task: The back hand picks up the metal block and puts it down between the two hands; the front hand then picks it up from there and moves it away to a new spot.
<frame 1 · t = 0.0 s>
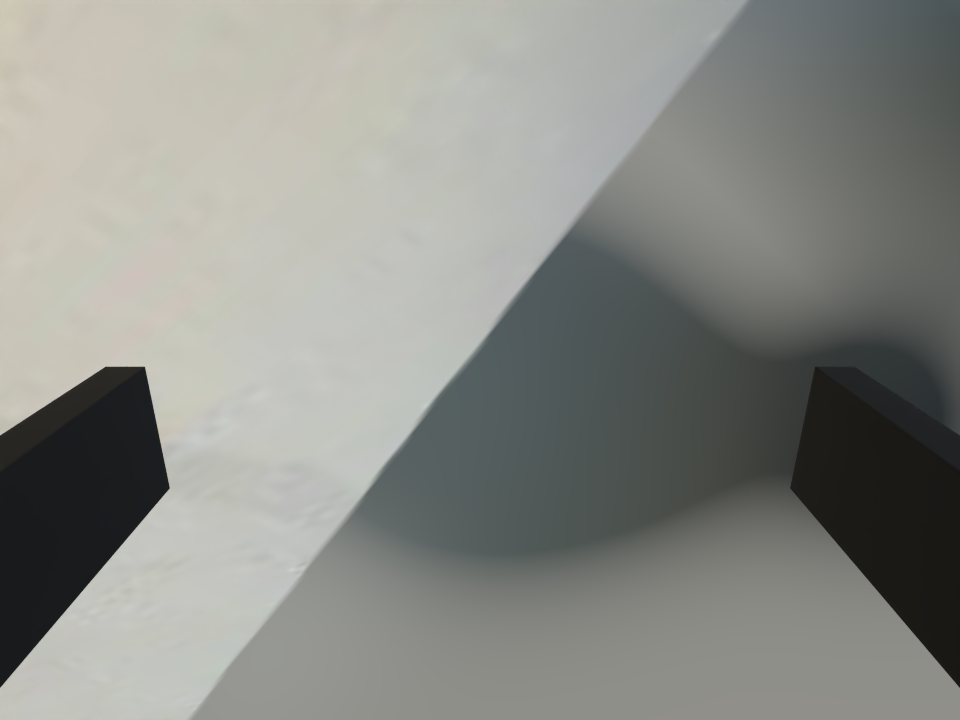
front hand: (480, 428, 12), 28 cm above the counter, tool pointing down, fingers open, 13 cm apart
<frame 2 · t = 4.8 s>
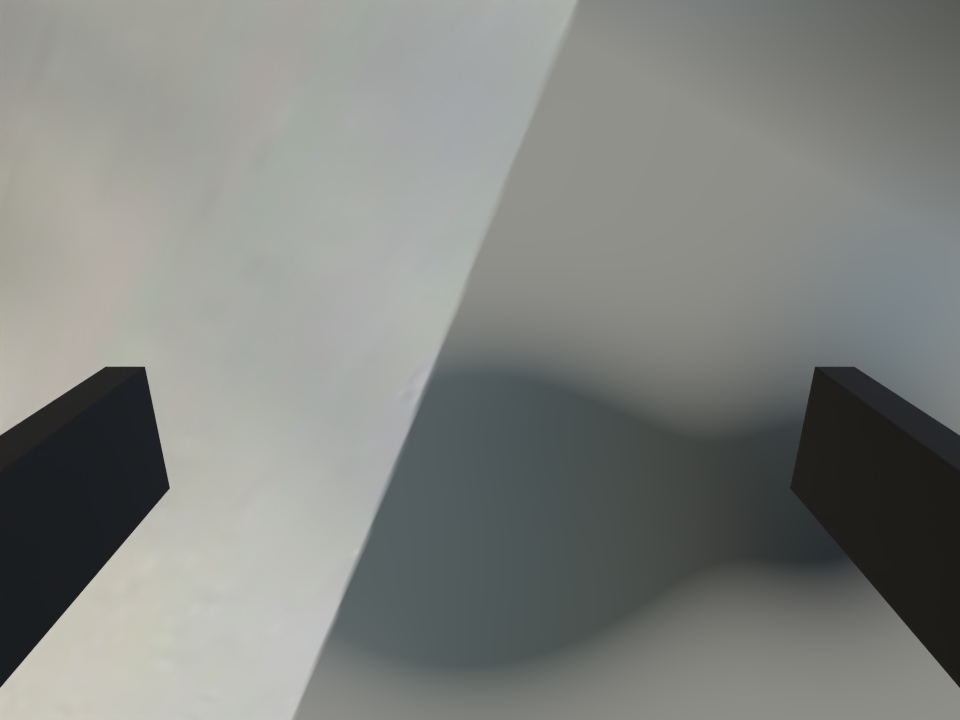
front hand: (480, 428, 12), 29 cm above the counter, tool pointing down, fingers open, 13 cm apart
when the back hand's fingers open (2 cm above the counter, at t = 15.0 s): metal block stays where it is, on the counter.
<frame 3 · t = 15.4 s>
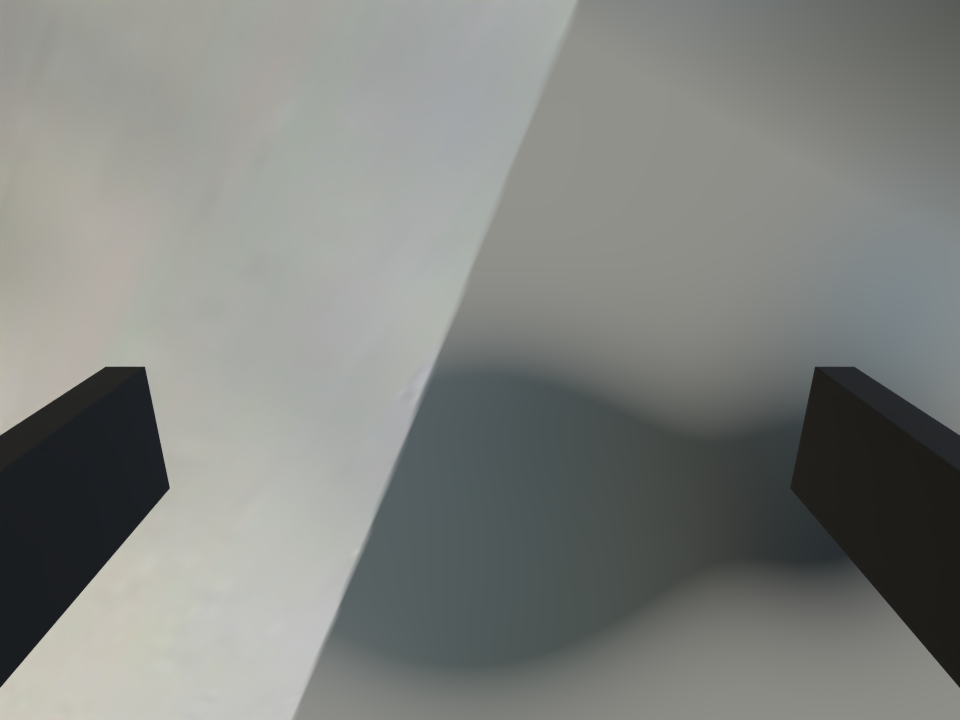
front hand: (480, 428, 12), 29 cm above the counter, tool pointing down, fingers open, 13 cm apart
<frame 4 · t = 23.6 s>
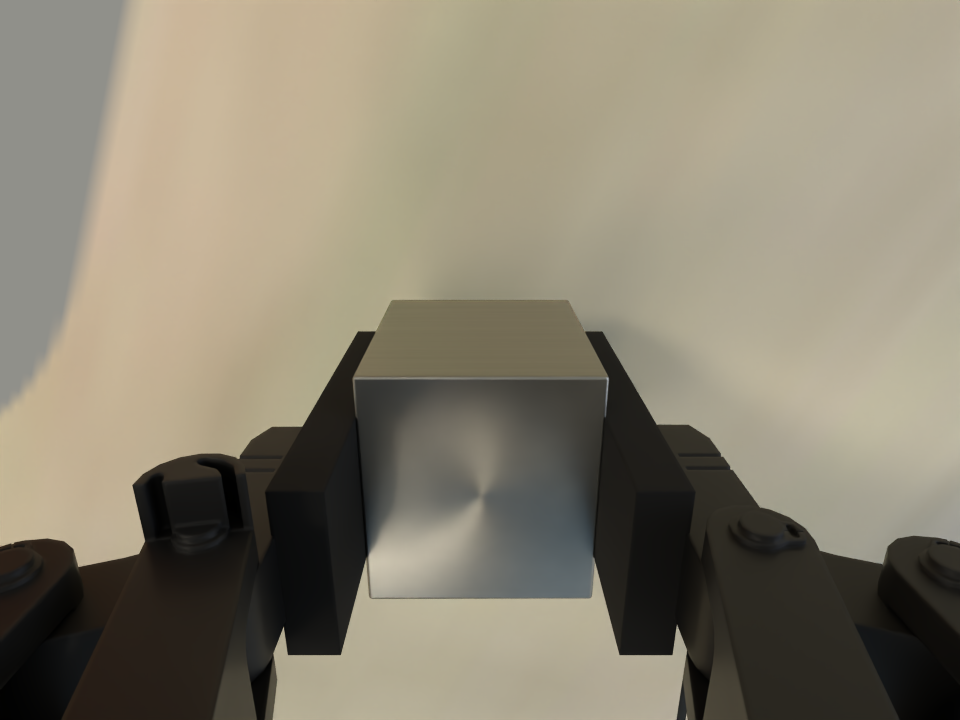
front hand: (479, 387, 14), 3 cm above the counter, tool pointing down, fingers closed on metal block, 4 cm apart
metal block: (479, 387, 15), point 3 cm above the counter, touching front hand
when the front hand's fingers open (1 cm above the counter, at t = 34.4 s): metal block stays where it is, on the counter.
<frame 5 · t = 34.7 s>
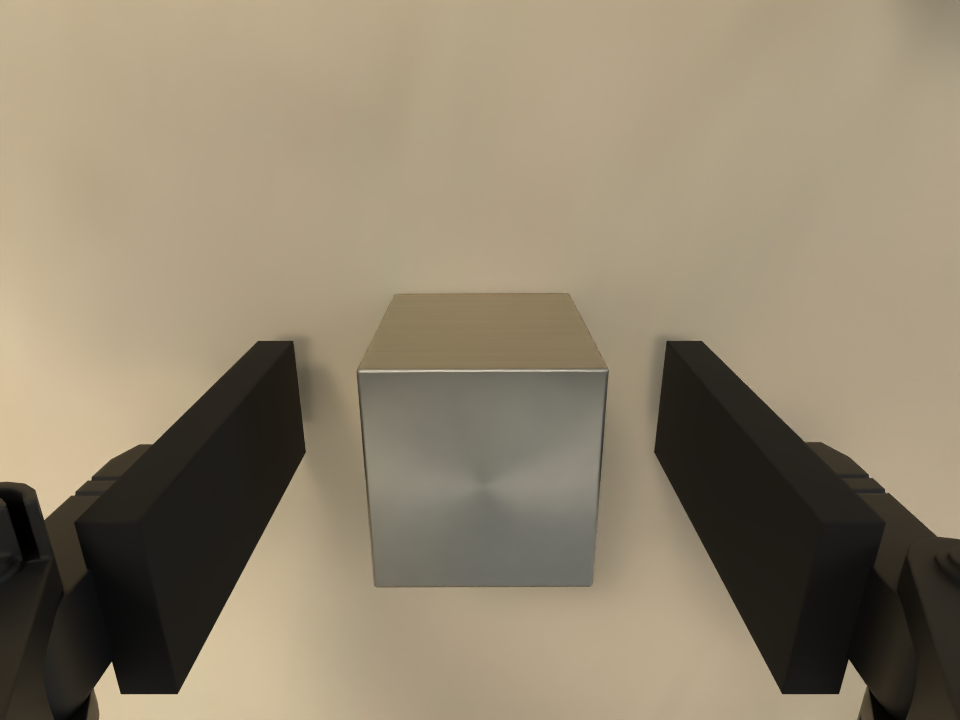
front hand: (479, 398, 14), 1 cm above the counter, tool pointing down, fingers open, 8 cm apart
metal block: (482, 380, 15), on the counter
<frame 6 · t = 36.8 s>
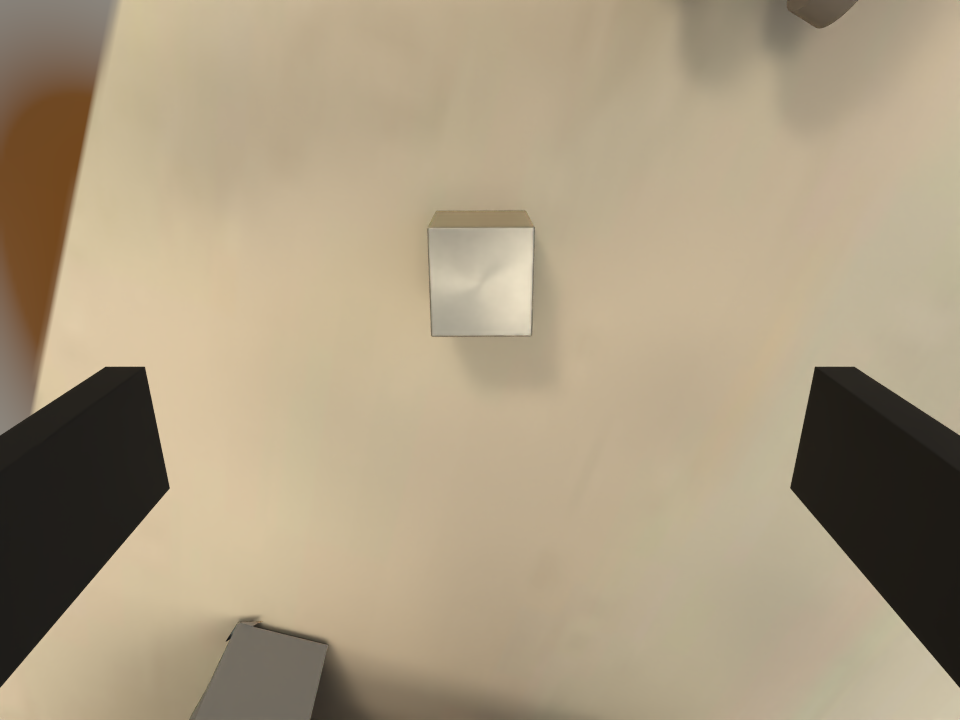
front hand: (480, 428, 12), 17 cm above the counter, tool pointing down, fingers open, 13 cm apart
metal block: (481, 259, 28), on the counter
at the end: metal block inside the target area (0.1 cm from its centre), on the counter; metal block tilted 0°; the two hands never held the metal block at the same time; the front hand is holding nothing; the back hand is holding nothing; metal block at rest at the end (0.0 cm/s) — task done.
